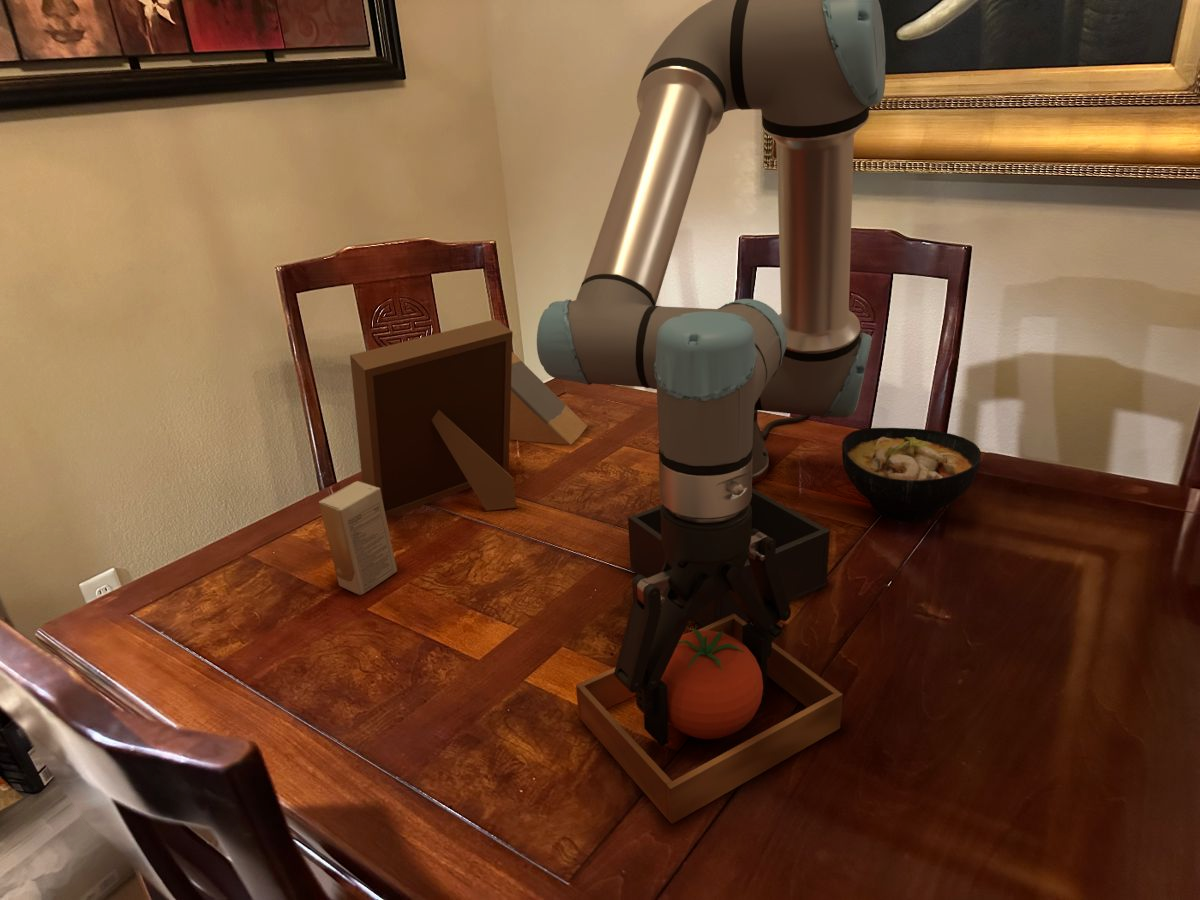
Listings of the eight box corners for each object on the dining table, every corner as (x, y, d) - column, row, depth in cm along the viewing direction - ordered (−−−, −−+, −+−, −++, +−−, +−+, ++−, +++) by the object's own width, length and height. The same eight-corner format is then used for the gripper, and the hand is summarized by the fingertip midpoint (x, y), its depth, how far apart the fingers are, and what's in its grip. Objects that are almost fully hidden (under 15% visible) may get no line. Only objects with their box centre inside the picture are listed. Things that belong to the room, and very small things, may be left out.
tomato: (761, 768, 74) (764, 678, 70) (646, 758, 76) (642, 669, 71) (762, 690, 83) (764, 605, 79) (658, 682, 85) (655, 600, 81)
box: (733, 644, 90) (734, 613, 88) (840, 728, 78) (843, 694, 76) (578, 717, 81) (575, 684, 79) (671, 824, 69) (670, 788, 67)
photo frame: (365, 511, 122) (333, 345, 112) (494, 465, 134) (476, 311, 123) (411, 550, 111) (379, 371, 101) (546, 497, 123) (531, 331, 112)
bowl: (851, 472, 125) (856, 409, 120) (977, 490, 117) (986, 424, 113) (825, 526, 111) (830, 457, 107) (966, 550, 104) (976, 478, 99)
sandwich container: (571, 445, 139) (564, 359, 133) (488, 438, 144) (477, 354, 138) (589, 425, 146) (583, 342, 140) (509, 419, 151) (500, 338, 145)
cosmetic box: (375, 563, 109) (359, 478, 104) (398, 572, 106) (382, 486, 101) (335, 587, 104) (316, 500, 99) (358, 597, 102) (340, 508, 97)
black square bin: (734, 529, 111) (735, 478, 108) (826, 586, 98) (830, 530, 95) (630, 569, 104) (627, 516, 101) (714, 637, 91) (714, 578, 88)
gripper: (611, 568, 61) (624, 791, 70) (840, 479, 72) (826, 684, 81) (561, 527, 67) (579, 738, 76) (780, 451, 78) (773, 644, 87)
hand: (706, 710), depth 79 cm, fingers open, 11 cm apart
